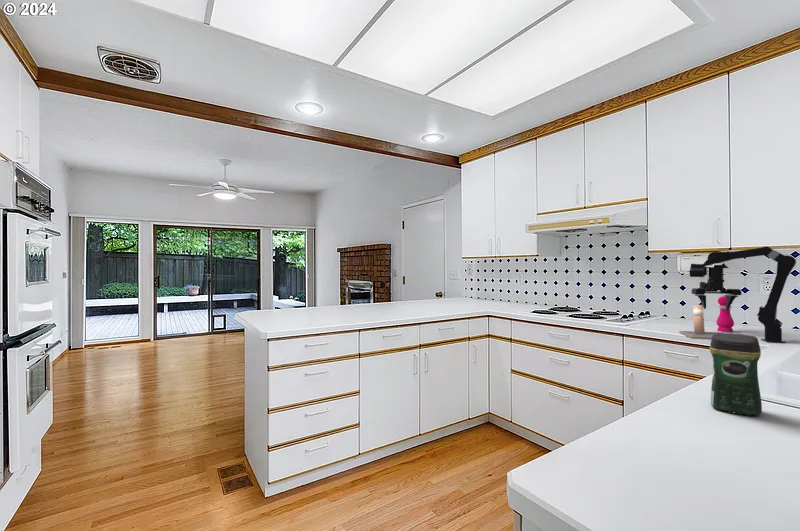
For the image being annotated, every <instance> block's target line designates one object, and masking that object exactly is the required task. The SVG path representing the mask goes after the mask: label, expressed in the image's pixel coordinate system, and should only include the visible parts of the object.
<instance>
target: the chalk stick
mask: <svg viewBox="0 0 800 531" xmlns="http://www.w3.org/2000/svg"><path fill="white" fill-rule="evenodd" d="M692 313H693V314H692V315H693V316H692V317H693V326H694V327H693V329H694V331H695V334H705V332H706V331H705V320H704V317H705V316H704V308H703V305H702V304H692Z"/></svg>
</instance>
